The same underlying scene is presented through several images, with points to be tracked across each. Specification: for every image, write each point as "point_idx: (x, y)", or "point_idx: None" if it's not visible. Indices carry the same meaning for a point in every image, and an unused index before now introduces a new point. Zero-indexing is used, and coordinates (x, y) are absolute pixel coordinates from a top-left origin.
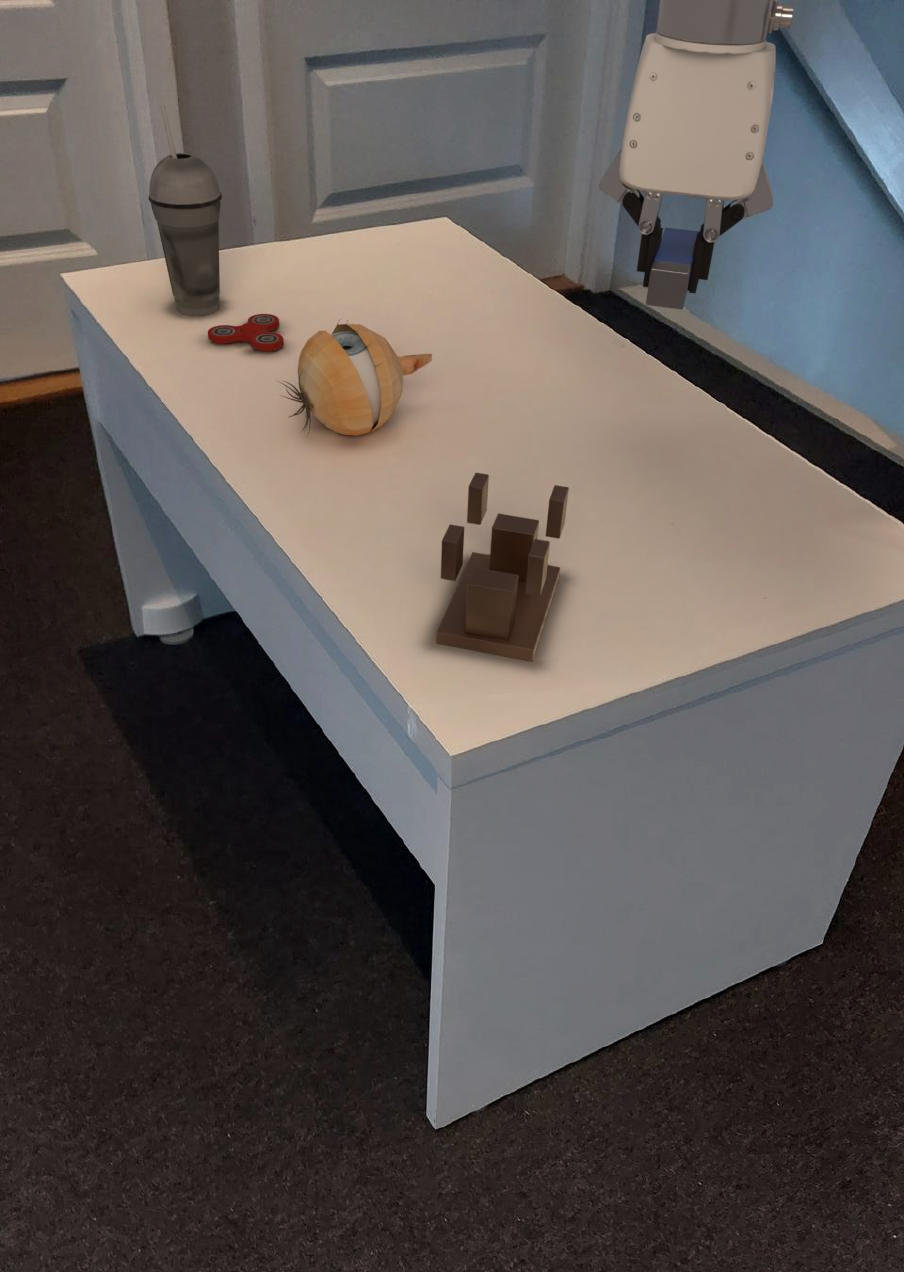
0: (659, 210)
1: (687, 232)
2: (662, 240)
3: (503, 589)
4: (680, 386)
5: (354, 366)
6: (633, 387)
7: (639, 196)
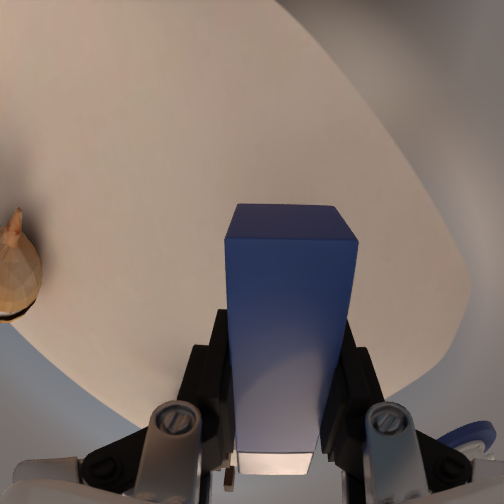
0: (201, 450)
1: (312, 269)
2: (234, 360)
3: (215, 470)
4: (301, 31)
5: (1, 314)
6: (240, 51)
7: (132, 493)
